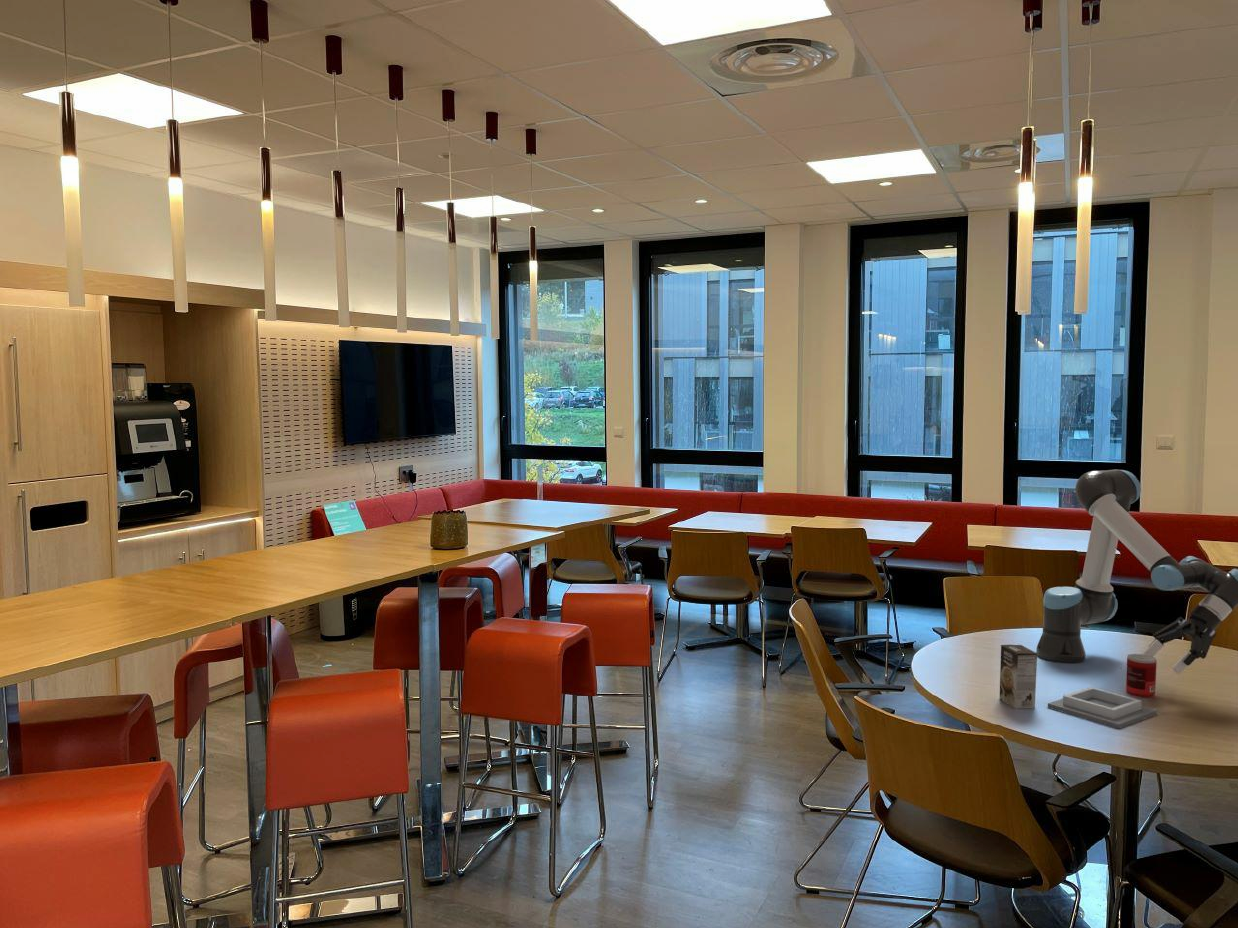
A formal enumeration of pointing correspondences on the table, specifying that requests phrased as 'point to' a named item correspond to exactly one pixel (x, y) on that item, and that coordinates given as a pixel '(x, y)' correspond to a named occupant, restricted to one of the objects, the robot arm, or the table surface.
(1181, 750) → the table surface
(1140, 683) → the canned food
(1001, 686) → the coffee box
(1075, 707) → the end holder
